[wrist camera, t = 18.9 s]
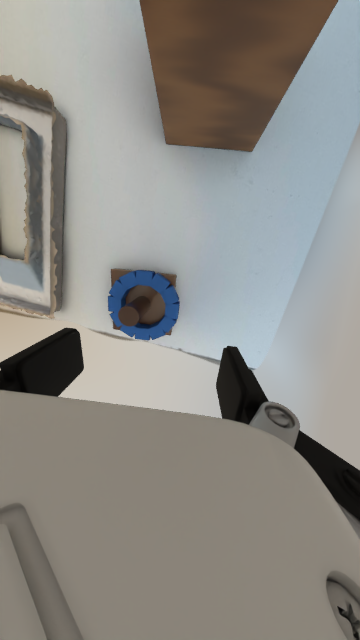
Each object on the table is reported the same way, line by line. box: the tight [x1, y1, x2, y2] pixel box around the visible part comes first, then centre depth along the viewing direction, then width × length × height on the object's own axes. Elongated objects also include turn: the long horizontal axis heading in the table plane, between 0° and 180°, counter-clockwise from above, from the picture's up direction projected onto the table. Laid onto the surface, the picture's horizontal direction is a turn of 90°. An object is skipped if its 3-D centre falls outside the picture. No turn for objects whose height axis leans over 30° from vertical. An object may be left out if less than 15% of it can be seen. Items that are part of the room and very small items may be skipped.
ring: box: [108, 270, 180, 340], centre depth 23 cm, size 10×10×2 cm
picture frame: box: [0, 75, 66, 319], centre depth 21 cm, size 13×25×3 cm, turn 166°
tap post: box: [111, 269, 176, 335], centre depth 22 cm, size 9×9×8 cm
